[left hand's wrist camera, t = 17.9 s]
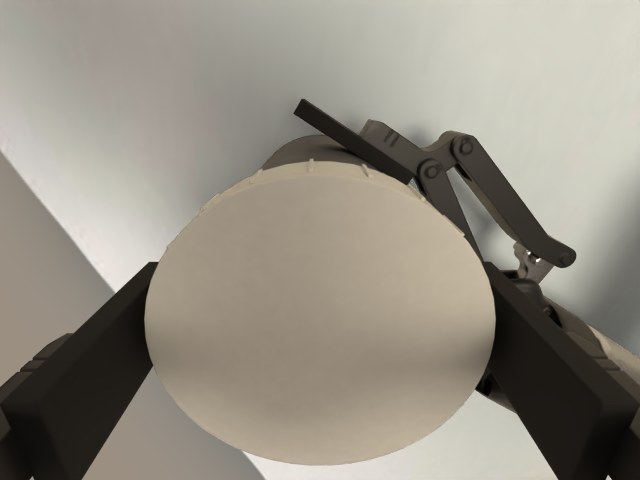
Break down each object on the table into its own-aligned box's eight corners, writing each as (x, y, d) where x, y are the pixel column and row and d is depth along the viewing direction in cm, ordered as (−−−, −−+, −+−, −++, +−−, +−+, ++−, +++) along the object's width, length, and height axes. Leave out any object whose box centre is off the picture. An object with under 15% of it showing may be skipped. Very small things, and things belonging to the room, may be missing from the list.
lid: (150, 378, 14) (120, 427, 12) (204, 108, 10) (175, 110, 8) (395, 439, 15) (407, 493, 13) (525, 219, 11) (571, 246, 9)
